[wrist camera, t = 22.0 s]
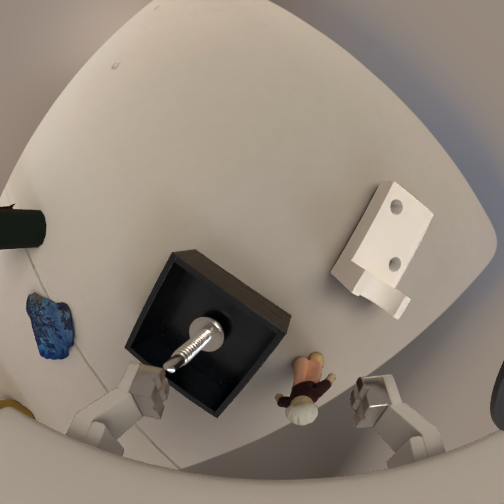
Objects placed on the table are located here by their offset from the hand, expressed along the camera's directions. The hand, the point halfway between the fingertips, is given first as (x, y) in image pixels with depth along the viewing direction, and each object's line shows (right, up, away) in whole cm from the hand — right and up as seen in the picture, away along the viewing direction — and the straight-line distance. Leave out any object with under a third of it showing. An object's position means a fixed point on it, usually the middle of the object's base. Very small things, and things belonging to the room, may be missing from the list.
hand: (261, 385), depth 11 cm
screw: (-6, -5, +27) cm, 28 cm away
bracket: (+16, +6, +22) cm, 28 cm away
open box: (-6, -5, +28) cm, 29 cm away
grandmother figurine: (+7, -10, +25) cm, 28 cm away
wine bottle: (-46, +11, +35) cm, 59 cm away
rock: (-42, -10, +36) cm, 56 cm away
